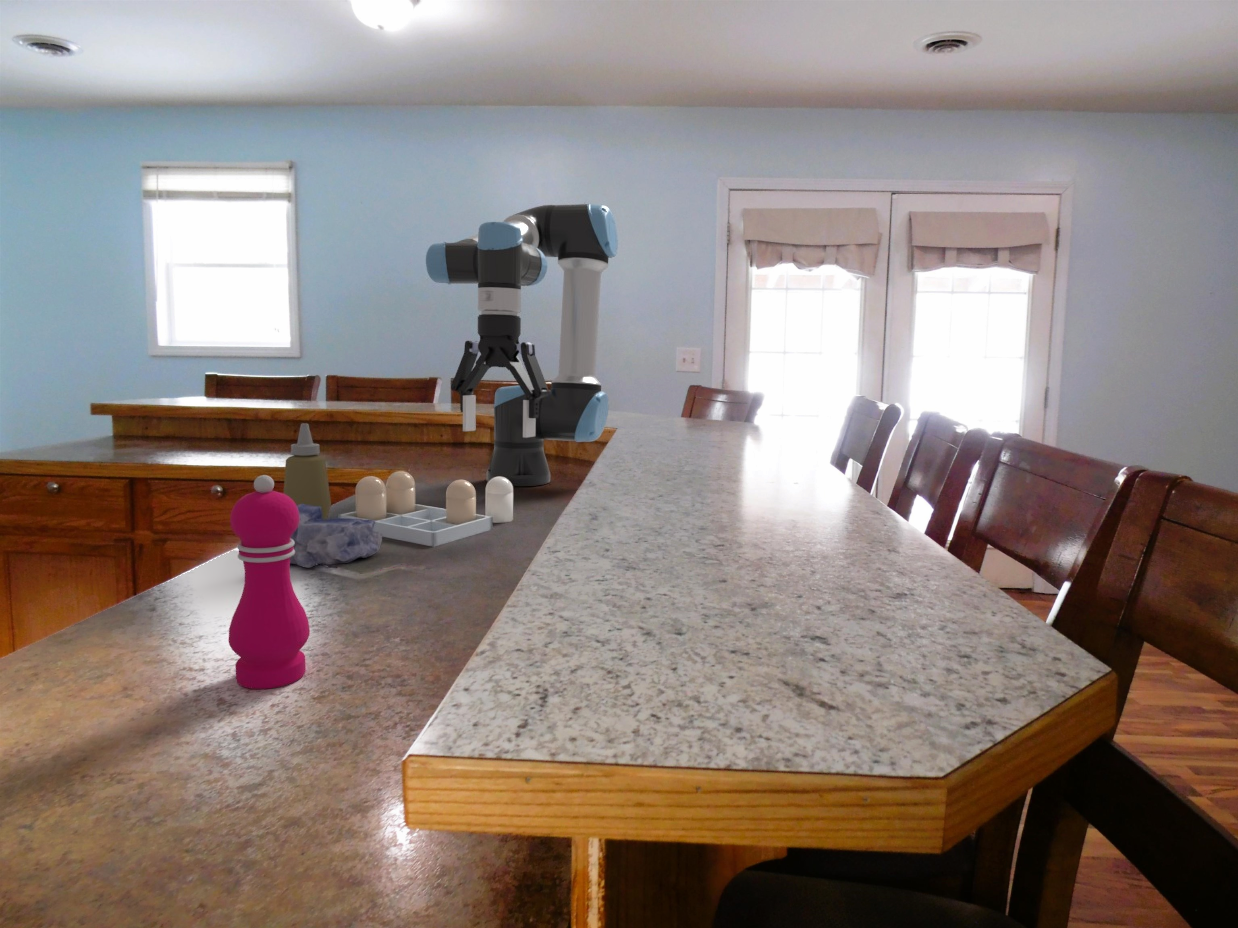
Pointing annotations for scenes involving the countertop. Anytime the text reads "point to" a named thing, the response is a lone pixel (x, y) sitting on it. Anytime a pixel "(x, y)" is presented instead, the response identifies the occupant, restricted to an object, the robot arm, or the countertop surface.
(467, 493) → the brown egg
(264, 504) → the pepper mill
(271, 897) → the countertop surface
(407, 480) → the brown egg
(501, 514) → the egg
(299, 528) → the mineral
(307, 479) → the squeeze bottle
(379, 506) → the brown egg
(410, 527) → the carton
